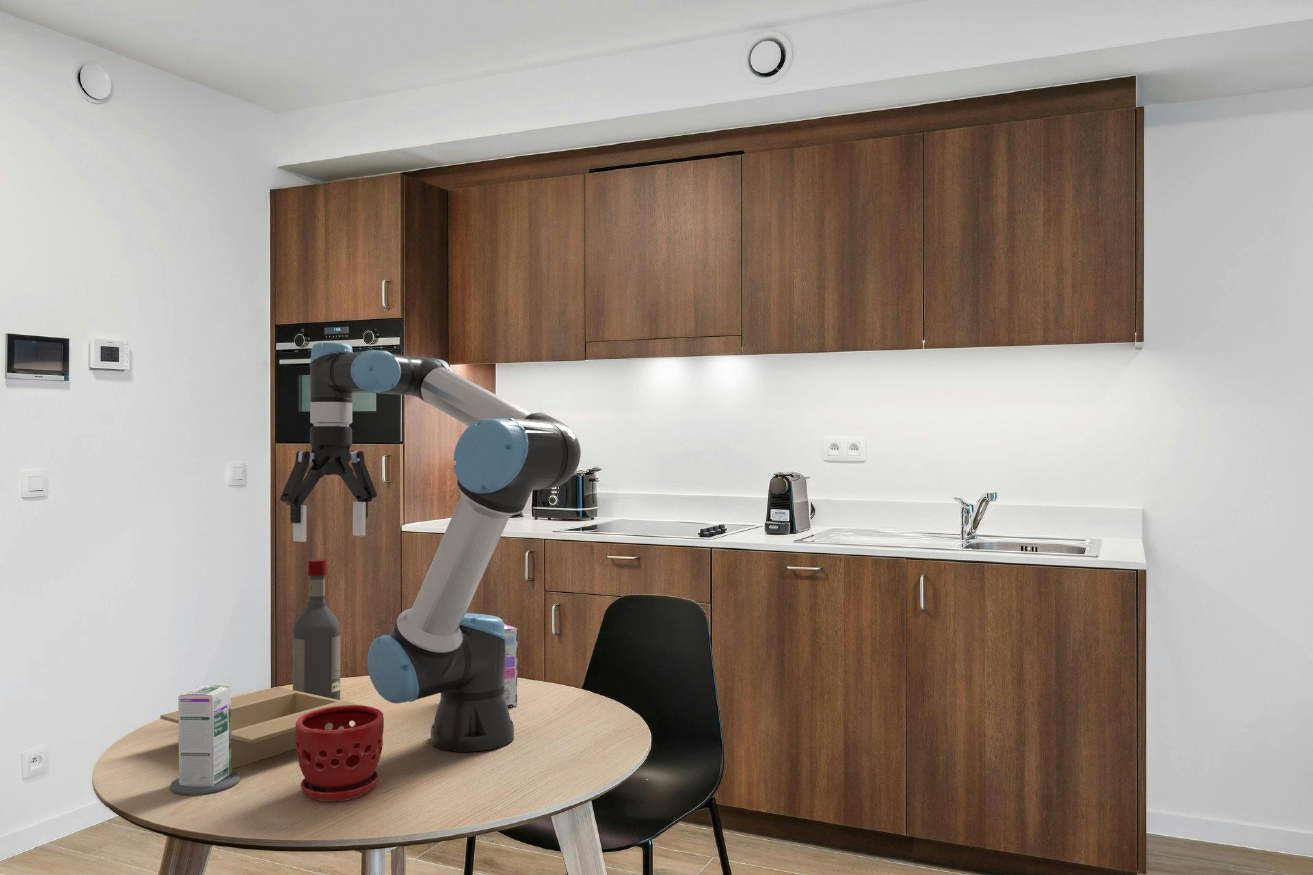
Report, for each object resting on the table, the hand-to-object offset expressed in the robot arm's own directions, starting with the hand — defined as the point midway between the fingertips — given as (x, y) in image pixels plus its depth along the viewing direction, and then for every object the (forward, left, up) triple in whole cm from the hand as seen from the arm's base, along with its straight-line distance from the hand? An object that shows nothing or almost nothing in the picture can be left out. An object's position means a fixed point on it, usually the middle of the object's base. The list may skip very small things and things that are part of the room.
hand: (330, 538), depth 178 cm
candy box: (-10, -34, -37) cm, 51 cm away
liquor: (+20, -13, -37) cm, 44 cm away
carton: (+5, +10, -37) cm, 38 cm away
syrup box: (-5, +28, -36) cm, 46 cm away
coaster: (-5, +28, -37) cm, 46 cm away
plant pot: (-26, +19, -37) cm, 49 cm away
